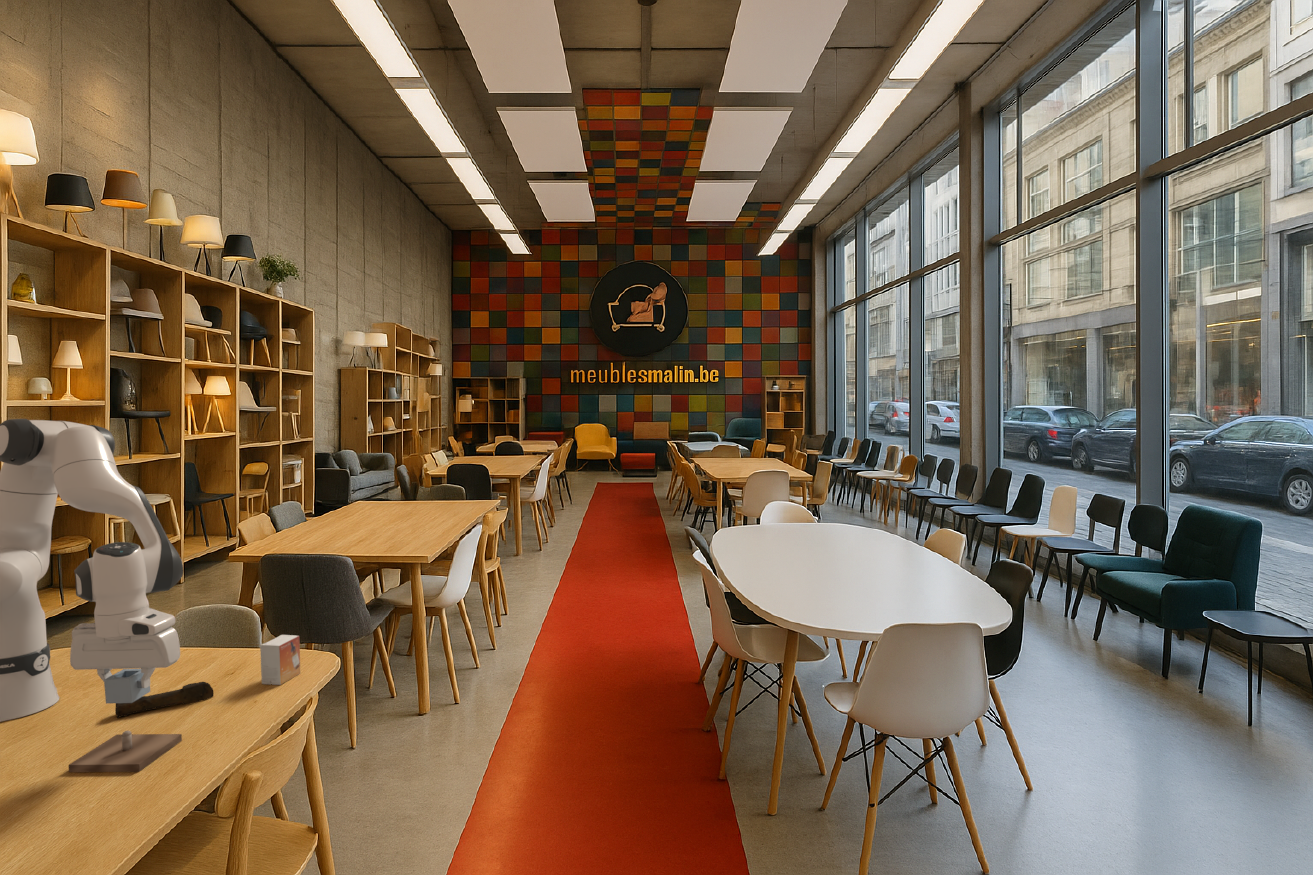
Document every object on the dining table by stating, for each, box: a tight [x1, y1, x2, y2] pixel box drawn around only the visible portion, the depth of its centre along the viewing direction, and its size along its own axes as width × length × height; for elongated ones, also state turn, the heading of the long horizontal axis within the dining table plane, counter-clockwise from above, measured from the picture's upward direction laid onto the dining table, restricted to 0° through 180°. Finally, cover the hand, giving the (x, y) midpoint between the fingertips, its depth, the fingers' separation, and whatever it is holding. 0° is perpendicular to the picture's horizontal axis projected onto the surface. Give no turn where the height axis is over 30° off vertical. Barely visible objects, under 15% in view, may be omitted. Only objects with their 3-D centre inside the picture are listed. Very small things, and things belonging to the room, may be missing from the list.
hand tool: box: [114, 681, 215, 719], centre depth 161 cm, size 19×4×5 cm, turn 120°
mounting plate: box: [68, 730, 183, 773], centre depth 139 cm, size 14×12×5 cm
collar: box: [103, 668, 151, 705], centre depth 139 cm, size 5×5×5 cm
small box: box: [259, 634, 301, 686], centre depth 177 cm, size 8×6×10 cm
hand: (127, 687), depth 139 cm, fingers closed on collar, 5 cm apart
